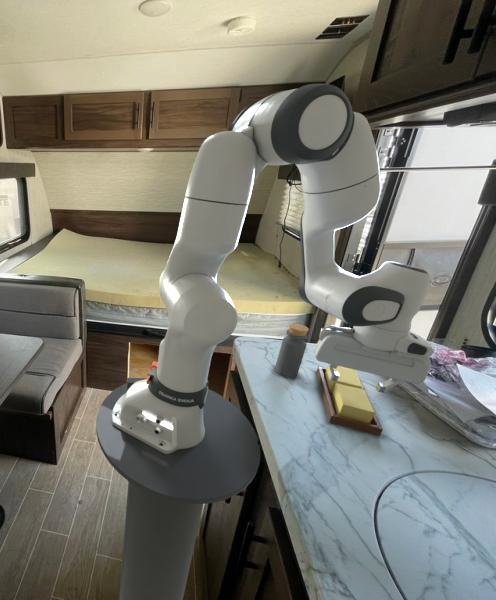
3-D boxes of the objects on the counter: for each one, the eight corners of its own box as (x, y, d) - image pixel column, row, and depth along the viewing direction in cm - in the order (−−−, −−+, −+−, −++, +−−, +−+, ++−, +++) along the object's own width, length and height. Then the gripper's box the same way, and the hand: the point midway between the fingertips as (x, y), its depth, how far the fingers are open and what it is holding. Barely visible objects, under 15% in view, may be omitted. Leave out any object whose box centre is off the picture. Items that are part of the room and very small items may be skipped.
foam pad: (337, 417, 77) (343, 404, 75) (331, 395, 84) (335, 383, 83) (368, 426, 74) (374, 412, 73) (359, 402, 82) (364, 389, 80)
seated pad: (330, 392, 85) (334, 380, 84) (324, 374, 93) (328, 362, 91) (357, 399, 83) (362, 386, 82) (349, 380, 91) (354, 368, 89)
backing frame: (329, 422, 76) (331, 415, 75) (316, 372, 95) (318, 366, 94) (379, 436, 72) (383, 429, 72) (355, 381, 91) (358, 375, 90)
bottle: (292, 367, 97) (306, 323, 91) (300, 379, 92) (315, 333, 86) (271, 365, 98) (283, 321, 92) (278, 376, 92) (291, 330, 87)
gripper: (325, 328, 73) (307, 379, 78) (444, 352, 65) (415, 407, 70) (321, 318, 78) (304, 366, 83) (431, 339, 70) (405, 390, 75)
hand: (356, 385), depth 77 cm, fingers open, 8 cm apart
